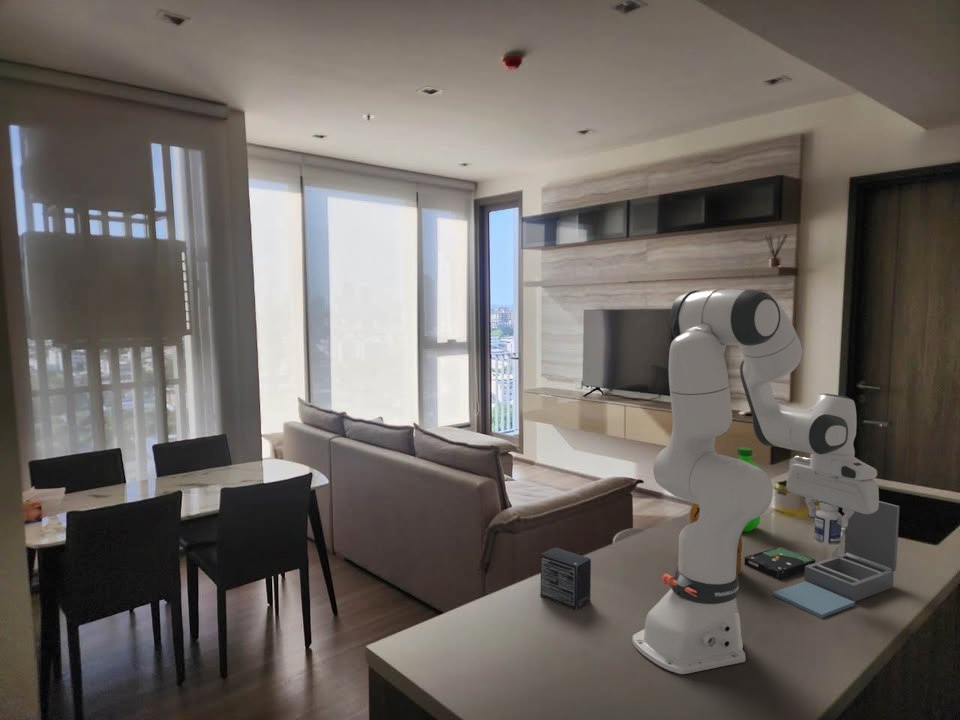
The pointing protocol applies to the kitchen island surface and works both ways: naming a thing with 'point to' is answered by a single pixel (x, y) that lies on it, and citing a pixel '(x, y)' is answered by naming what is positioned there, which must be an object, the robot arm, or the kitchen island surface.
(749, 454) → the plastic bottle
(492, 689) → the kitchen island surface
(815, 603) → the mat
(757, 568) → the disk drive
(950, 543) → the kitchen island surface
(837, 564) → the hinged lid box
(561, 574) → the small box
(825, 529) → the pill bottle
